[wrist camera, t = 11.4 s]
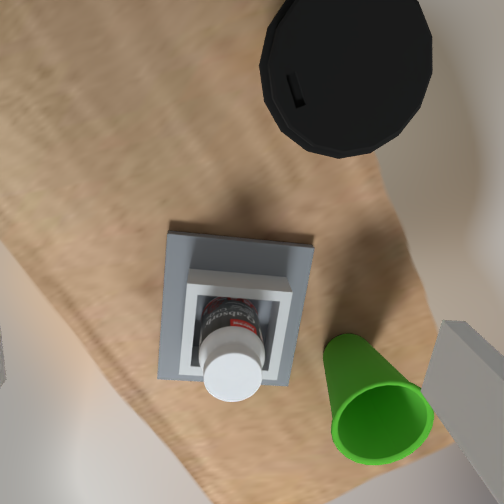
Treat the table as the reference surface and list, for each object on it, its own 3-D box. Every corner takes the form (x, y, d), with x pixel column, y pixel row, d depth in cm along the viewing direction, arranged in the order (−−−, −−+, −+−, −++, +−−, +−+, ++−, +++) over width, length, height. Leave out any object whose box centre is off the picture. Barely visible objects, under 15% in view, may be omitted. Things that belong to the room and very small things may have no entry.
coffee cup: (270, 160, 38) (295, 186, 27) (227, 34, 35) (234, 3, 23) (384, 116, 38) (456, 124, 27) (352, -16, 34) (421, -73, 23)
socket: (168, 230, 40) (163, 246, 36) (312, 244, 42) (323, 261, 37) (158, 373, 45) (152, 401, 41) (286, 380, 47) (293, 408, 43)
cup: (367, 302, 44) (414, 363, 34) (397, 364, 47) (448, 438, 37) (291, 340, 45) (314, 411, 35) (325, 399, 48) (356, 481, 38)
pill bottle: (254, 288, 42) (266, 341, 32) (260, 337, 43) (274, 401, 34) (196, 296, 41) (191, 353, 32) (205, 346, 43) (203, 413, 34)
